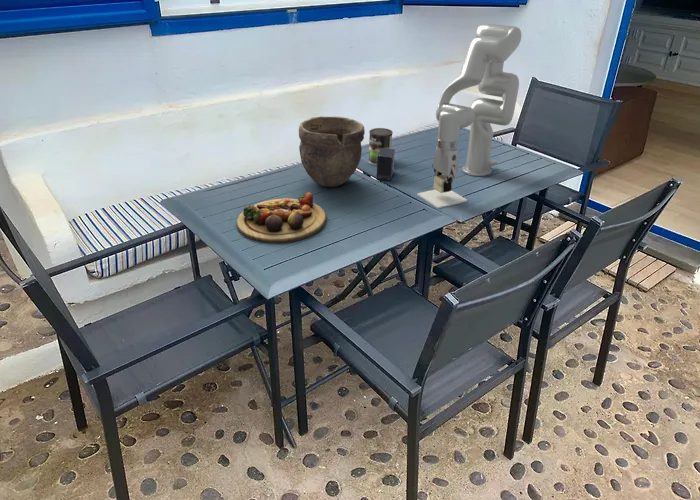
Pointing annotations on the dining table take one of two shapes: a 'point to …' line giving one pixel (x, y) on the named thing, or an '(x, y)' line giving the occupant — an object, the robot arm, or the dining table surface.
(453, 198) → the off-white board
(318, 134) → the clay pot
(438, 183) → the maple cube
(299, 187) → the dining table surface
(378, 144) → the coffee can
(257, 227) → the wooden plate with food
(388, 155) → the small box
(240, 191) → the dining table surface
